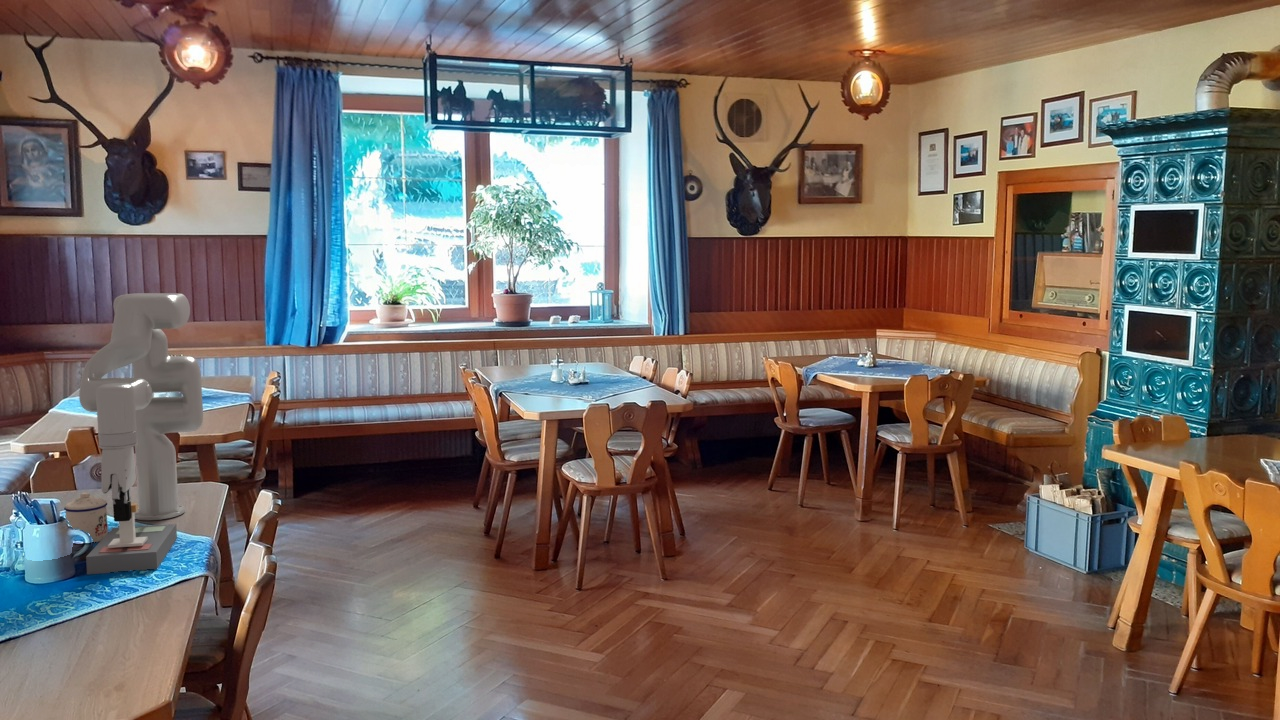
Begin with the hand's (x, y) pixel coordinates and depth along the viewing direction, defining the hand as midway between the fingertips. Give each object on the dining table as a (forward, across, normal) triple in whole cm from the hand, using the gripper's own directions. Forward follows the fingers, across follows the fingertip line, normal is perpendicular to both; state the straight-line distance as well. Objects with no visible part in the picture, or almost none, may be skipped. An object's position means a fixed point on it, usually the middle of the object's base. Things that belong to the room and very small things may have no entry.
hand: (122, 520), depth 211 cm
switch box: (+11, -8, 0) cm, 14 cm away
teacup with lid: (+11, -26, -14) cm, 32 cm away
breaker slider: (+6, -3, 0) cm, 7 cm away
